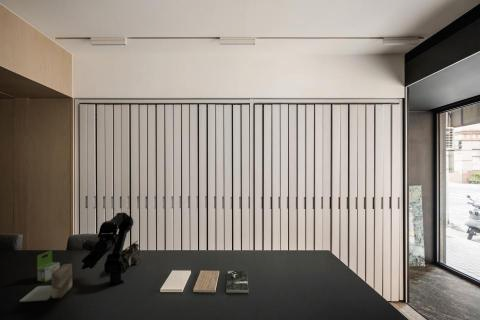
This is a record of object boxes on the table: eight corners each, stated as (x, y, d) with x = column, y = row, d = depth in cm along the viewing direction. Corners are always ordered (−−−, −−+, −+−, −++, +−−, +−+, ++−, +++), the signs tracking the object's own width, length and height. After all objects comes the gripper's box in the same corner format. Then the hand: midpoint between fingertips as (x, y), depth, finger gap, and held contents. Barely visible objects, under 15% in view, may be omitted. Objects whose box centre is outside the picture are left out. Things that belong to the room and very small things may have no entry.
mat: (62, 285, 153) (62, 284, 153) (47, 300, 138) (46, 298, 138) (37, 287, 152) (37, 286, 152) (19, 302, 137) (19, 300, 137)
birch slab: (72, 286, 152) (71, 263, 152) (61, 298, 141) (60, 273, 140) (64, 287, 152) (63, 264, 152) (52, 298, 140) (51, 273, 140)
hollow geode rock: (119, 282, 167) (136, 264, 166) (102, 267, 167) (120, 248, 166) (138, 262, 195) (153, 246, 194) (123, 249, 195) (138, 233, 194)
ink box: (45, 282, 158) (44, 256, 158) (36, 281, 159) (36, 256, 159) (60, 274, 168) (59, 250, 168) (52, 273, 169) (51, 249, 169)
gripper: (98, 229, 156) (77, 251, 155) (85, 241, 138) (61, 265, 137) (114, 243, 158) (93, 265, 156) (103, 256, 139) (79, 281, 138)
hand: (82, 268), depth 147 cm, fingers closed
